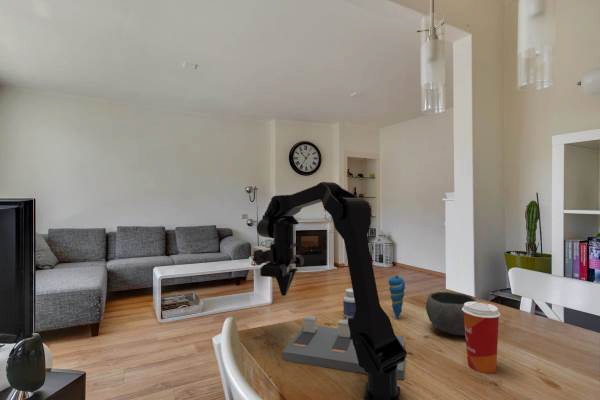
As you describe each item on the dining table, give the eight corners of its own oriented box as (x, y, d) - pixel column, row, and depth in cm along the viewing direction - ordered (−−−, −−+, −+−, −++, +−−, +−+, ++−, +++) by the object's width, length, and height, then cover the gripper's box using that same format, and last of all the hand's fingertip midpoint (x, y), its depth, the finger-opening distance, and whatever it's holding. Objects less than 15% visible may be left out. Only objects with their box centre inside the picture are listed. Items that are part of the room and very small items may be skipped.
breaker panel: (403, 380, 66) (403, 370, 66) (282, 359, 75) (282, 351, 75) (403, 343, 83) (403, 335, 83) (304, 331, 92) (304, 323, 92)
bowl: (490, 345, 82) (489, 307, 82) (429, 339, 86) (429, 303, 86) (474, 324, 96) (474, 292, 96) (423, 320, 100) (423, 289, 100)
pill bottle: (360, 323, 97) (359, 292, 97) (343, 322, 98) (342, 291, 98) (360, 317, 102) (360, 288, 102) (344, 316, 103) (343, 287, 104)
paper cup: (466, 355, 76) (465, 298, 76) (503, 365, 71) (502, 305, 72) (459, 368, 70) (458, 307, 70) (499, 380, 65) (497, 314, 66)
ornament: (387, 319, 100) (386, 273, 101) (390, 314, 105) (390, 270, 105) (404, 322, 98) (403, 275, 98) (406, 317, 103) (405, 271, 103)
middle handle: (350, 337, 82) (350, 324, 82) (338, 336, 83) (338, 322, 83) (352, 334, 84) (352, 320, 84) (340, 332, 85) (340, 319, 85)
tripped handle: (314, 333, 85) (314, 320, 85) (303, 331, 86) (303, 318, 86) (316, 329, 87) (316, 316, 87) (305, 328, 88) (305, 315, 88)
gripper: (271, 235, 98) (271, 284, 98) (242, 243, 81) (242, 302, 80) (304, 237, 95) (304, 287, 94) (281, 244, 77) (281, 307, 77)
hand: (283, 295), depth 87 cm, fingers closed
